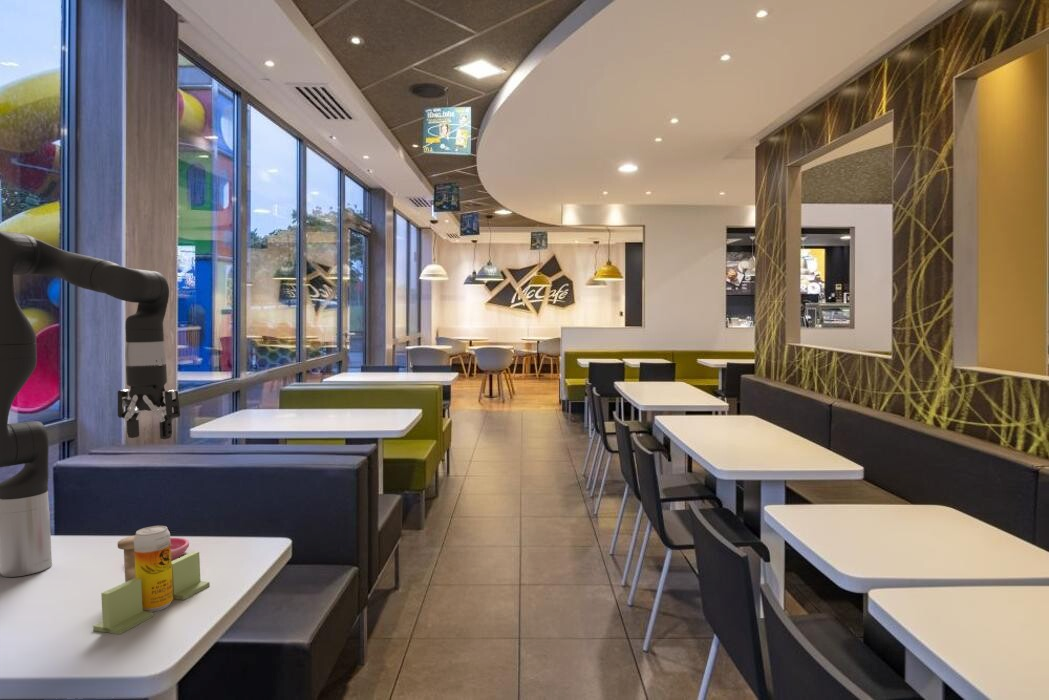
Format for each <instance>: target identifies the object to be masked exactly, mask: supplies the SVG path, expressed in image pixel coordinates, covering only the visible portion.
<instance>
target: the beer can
mask: <svg viewBox="0 0 1049 700" xmlns="http://www.w3.org/2000/svg"><path fill="white" fill-rule="evenodd" d="M134 536H135V537H134V555H135V574H136V578H138V579H141V587H142V608H143V611H144V612H152V613H154V612H158V611H161V610H163V609H166V608H167V607H169V606H170V605H171V603H172V602H173V600H174V599H173V585H172V564H171V543H170V538H171V533H170V531H169V529H168V527H167V526H166V525H153V526H147V527H143V528H140V529H138V530H136V532H135V535H134Z"/></svg>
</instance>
